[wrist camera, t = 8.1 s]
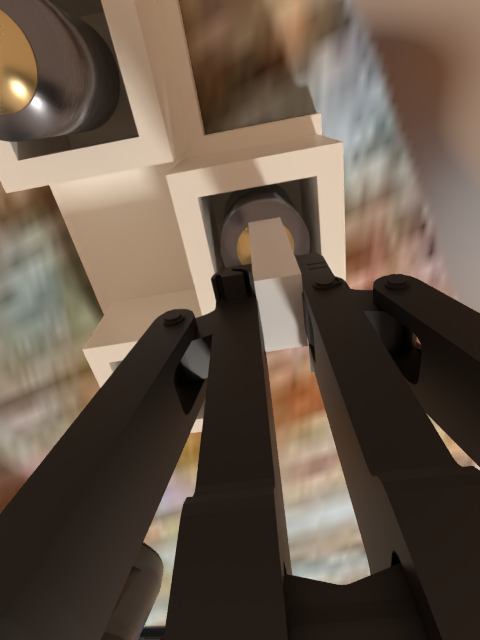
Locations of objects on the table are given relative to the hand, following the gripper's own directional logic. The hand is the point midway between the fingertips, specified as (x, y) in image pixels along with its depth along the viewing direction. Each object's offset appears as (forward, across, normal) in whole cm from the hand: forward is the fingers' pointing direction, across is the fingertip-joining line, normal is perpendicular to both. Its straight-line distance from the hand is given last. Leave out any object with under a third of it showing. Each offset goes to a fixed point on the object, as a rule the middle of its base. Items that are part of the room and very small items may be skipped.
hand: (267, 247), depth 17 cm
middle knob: (+6, 0, 0) cm, 6 cm away
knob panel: (+8, +4, 0) cm, 9 cm away
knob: (+3, +8, -8) cm, 12 cm away
